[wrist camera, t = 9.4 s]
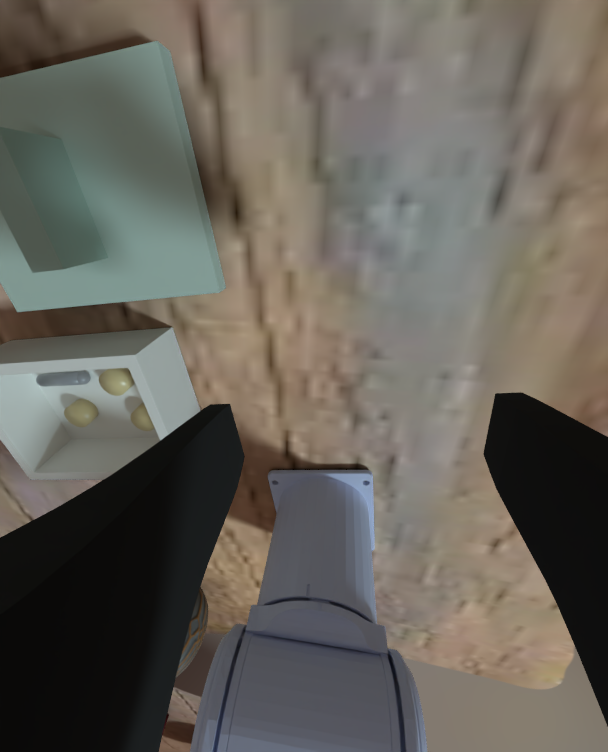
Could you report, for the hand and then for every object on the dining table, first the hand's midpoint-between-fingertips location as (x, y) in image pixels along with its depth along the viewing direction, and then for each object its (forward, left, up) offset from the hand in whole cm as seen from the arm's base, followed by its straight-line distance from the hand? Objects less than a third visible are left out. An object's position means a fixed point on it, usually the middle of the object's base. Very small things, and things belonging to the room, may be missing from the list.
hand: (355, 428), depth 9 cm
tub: (-4, +17, -10) cm, 20 cm away
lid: (+7, +13, -10) cm, 18 cm away
